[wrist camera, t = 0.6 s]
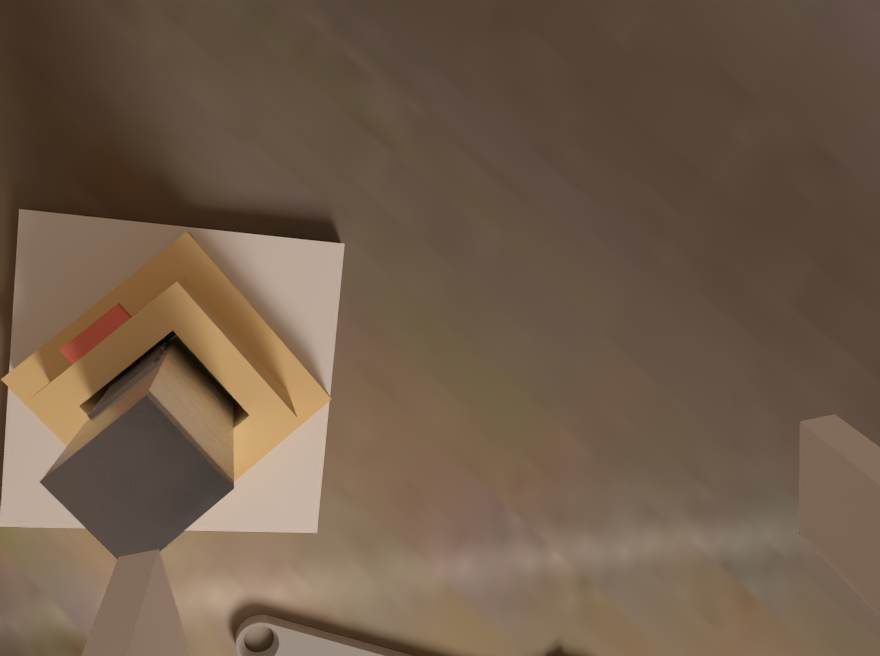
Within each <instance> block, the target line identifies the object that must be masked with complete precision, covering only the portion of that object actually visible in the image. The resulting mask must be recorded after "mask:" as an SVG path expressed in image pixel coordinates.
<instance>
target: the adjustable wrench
mask: <svg viewBox="0 0 880 656" xmlns="http://www.w3.org/2000/svg"><path fill="white" fill-rule="evenodd" d="M256 626H266V627H269V628H270V629H271V630H272V632H273V635H274V640H273V643H272V645H271V647H270V648H269V649H267V650H265V651H262V652H253V651H250V650H249V649H247V647H246V646H245V643H244V637H245V634H246V632H247V631H248V630H249V629H251V628H253V627H256ZM235 647H236V653H237V655H238V656H413V655H409V654H406V653H402V652H398V651H395V650H391V649H387V648H384V647H380V646H377V645H373V644H369V643H366V642H362V641H359V640H355V639H351V638H348V637H344V636H340V635H337V634H333V633H330V632H326V631H322V630H319V629H315V628H312V627H308V626H304V625H301V624H297V623H293V622H290V621H286V620H283V619H279V618H275V617H272V616H268V615H260V614H259V615H255V616H251V617H249V618H248V619H246V620H245V621H244V622H243V623H241V624H240V626H239V628H238V630H237V632H236V638H235Z"/></svg>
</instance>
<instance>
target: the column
mask: <svg viewBox="0 0 880 656" xmlns="http://www.w3.org/2000/svg"><path fill="white" fill-rule="evenodd" d="M104 394H105V395H104V396H103V397H102V398H101V399H100V400H99V401H100V402H99V403H98V404H97V405H95V406H94V407H93V408H94V410H93V411H91V412H90V413H89V414H88V415H87V416H88V417H89V418H88V419H87V421H86V422H85V423H84V425H83V426H82V427H81V429H80V430H79V431H78V433H77V434H76V435H75V437H74V438H73V439H72V440H71V442H70V443H69V444H68V446H67V447H66V448H65V450H64V451H63V452H62V454H61V455H60V456H59V457H58V459H57V460H56V461H55V463H54V464H53V465H52V467H51V468H50V469H49V471H48V472H47V473H46V475H45V476H44V477H43V478H42V480H41V481H40V483H41V484H42V485H43V486H44V487H45V488H46V489H47V490H48V491H49V492H50V493H51V494H52V495H53V496H54V497H55V498H56V499H57V500H58V501H59V502H60V503H61V504H62V505H63V506H64V507H65V508H66V509H67V510H68V511H69V512H70V513H71V514H72V515H73V516H74V517H75V518H76V519H77V520H78V521H79V522H80V523H81V524H82V525H83V526H84V527H85V528H86V529H87V530H88V531H89V532H90V533H91V534H92V535H93V536H94V537H95V538H96V539H97V540H98V541H100V542H101V543H102V544H103V545H104V546H105V547H106V548H107V549H108V550H109V551H110V552H111V553H112V554H113V555H114V556H115V557H116V558H117V559H118V558H119V557H121V556H126V555H131V554H136V553H141V552H146V551H151V550H156V549H159V551H161V550H162V549H163V548H164V547H166V546H167V545H168V544H169V543H170V542H171V541H173V540H174V539H175V538H176V537H177V536H179V535H180V534H181V533H182V532H183V531H184V530H186V529H187V528H188V527H189V526H190V525H192V524H193V523H194V522H195V521H196V520H197V519H199V518H200V517H201V516H202V515H203V514H205V513H206V512H207V511H208V510H209V509H210V508H212V507H213V506H214V505H215V504H216V503H218V502H219V501H220V500H221V499H222V498H223V497H225V496H226V495H227V494H228V493H229V492H231V491H232V490H233V489H234V436H233V399H234V398H233V396H232V395H231V394H230V393H229V392H228V391H227V390H226V389H225V388H224V386H223V385H222V384H221V383H220V382H219V381H218V380H217V379H216V378H215V376H214V375H213V374H212V373H211V372H210V371H209V370H208V369H207V368H206V367H205V365H204V364H203V363H202V362H201V361H200V360H199V359H198V358H197V357H196V355H195V354H194V353H193V352H192V351H191V350H190V349H189V348H188V347H187V345H186V344H185V343H184V342H183V341H182V340H181V339H180V338H179V337H178V336H177V334H176V333H175V334H174V335H173V336H171V337H170V338H169V339H168V340H167V341H165V342H164V343H163V344H162V345H160V346H159V347H158V348H157V349H155V350H154V351H153V352H152V353H150V354H149V355H148V356H147V357H145V358H144V359H143V360H142V361H141V362H139V363H138V364H137V365H136V366H134V367H133V368H132V369H131V370H129V371H128V372H127V373H126V374H125V375H123V376H122V377H121V378H120V379H118V380H117V381H116V382H115V383H113V384H112V385H111V386H110V387H109V388H108V391H106V392H105V393H104Z"/></svg>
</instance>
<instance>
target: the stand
mask: <svg viewBox="0 0 880 656" xmlns="http://www.w3.org/2000/svg"><path fill="white" fill-rule="evenodd" d="M344 245H345V244H342V243H333V242H323V241H314V240H305V239H295V238H286V237H276V236H267V235H258V234H248V233H239V232H230V231H220V230H211V229H202V228H192V227H183V226H174V225H164V224H155V223H146V222H136V221H127V220H117V219H108V218H99V217H89V216H80V215H71V214H61V213H52V212H43V211H33V210H24V209H19V219H18V235H17V252H16V268H15V284H14V301H13V317H12V333H11V349H10V366H9V373H8V374H7V375H6V376H4V377H3V378H2V379H1V380H2V381H3V382H4V383H5V384H6V385H7V386H8V398H7V414H6V431H5V447H4V463H3V480H2V496H1V512H0V527H43V528H85V527H84V526H83V525H82V524H81V523H80V522H79V521H78V520H77V519H76V518H75V517H74V516H73V515H72V514H71V513H70V512H69V511H68V510H67V509H66V508H65V507H64V506H63V505H62V504H61V503H60V502H59V501H58V500H57V499H56V498H55V497H54V496H53V495H52V494H51V493H50V492H49V491H48V490H47V489H46V488H45V487H44V486H43V485H42V484H41V483H40V481H41V480H42V478H43V477H44V476H45V475H46V473H47V472H48V471H49V469H50V468H51V467H52V465H53V464H54V463H55V461H56V460H57V459H58V457H59V456H60V455H61V454H62V452H63V451H64V450H65V448H66V447H67V446H68V444H69V443H70V442H71V440H72V439H73V438H74V437H75V435H76V434H77V433H78V431H79V430H80V429H81V427H82V426H83V425H84V423H85V422H86V421H87V419H88V418H89V417H88V416H87V415H88V414H89V413H90V412H91V411H93V410H94V408H93V407H94V406H95V405H97V404H98V403H99V402H100V401H99V400H100V399H101V398H102V397H103V396H104V395H105V394H104V393H105V392H106V391H108V388H109V387H110V386H111V385H112V384H113V383H115V382H116V381H117V380H118V379H120V378H121V377H122V376H123V375H125V374H126V373H127V372H128V371H129V370H131V369H132V368H133V367H134V366H136V365H137V364H138V363H139V362H141V361H142V360H143V359H144V358H145V357H147V356H148V355H149V354H150V353H152V352H153V351H154V350H155V349H157V348H158V347H159V346H160V345H162V344H163V343H164V342H165V341H167V340H168V339H169V338H170V337H171V336H173V335H174V334H175V333H176V334H177V336H178V337H179V338H180V339H181V340H182V341H183V342H184V343H185V344H186V345H187V347H188V348H189V349H190V350H191V351H192V352H193V353H194V354H195V355H196V357H197V358H198V359H199V360H200V361H201V362H202V363H203V364H204V365H205V367H206V368H207V369H208V370H209V371H210V372H211V373H212V374H213V375H214V376H215V378H216V379H217V380H218V381H219V382H220V383H221V384H222V385H223V386H224V388H225V389H226V390H227V391H228V392H229V393H230V394H231V395H232V396H233V398H234V399H233V436H234V489H233V490H232V491H231V492H229V493H228V494H227V495H226V496H225V497H223V498H222V499H221V500H220V501H219V502H218V503H216V504H215V505H214V506H213V507H212V508H210V509H209V510H208V511H207V512H206V513H205V514H203V515H202V516H201V517H200V518H199V519H197V520H196V521H195V522H194V523H193V524H192V525H190V526H189V527H188V528H187V529H186V530H194V531H245V532H295V533H317V526H318V515H319V505H320V494H321V484H322V474H323V463H324V453H325V442H326V432H327V422H328V411H329V401H330V400H331V397H330V390H331V380H332V369H333V359H334V349H335V338H336V328H337V317H338V307H339V297H340V286H341V276H342V265H343V255H344Z"/></svg>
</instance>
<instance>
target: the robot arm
mask: <svg viewBox="0 0 880 656" xmlns="http://www.w3.org/2000/svg"><path fill="white" fill-rule="evenodd" d="M799 535H800V536H801V537H802V538H803V539H804V540H805V541H806V542H807V543H808V544H809V545H810V546H811V547H812V548H813V549H814V550H815V551H816V552H817V553H818V554H819V555H820V556H821V557H822V558H823V560H824V561H825V562H826V563H827V564H828V565H829V566H830V567H831V568H832V569H833V570H834V571H835V572H836V573H837V574H838V575H839V576H840V577H841V578H842V579H843V580H844V581H845V582H846V583H847V584H848V585H849V586H850V587H851V588H852V590H853V591H854V592H855V593H856V594H857V595H858V596H859V597H860V598H861V599H862V600H863V601H864V602H865V603H866V604H867V605H868V606H869V607H870V608H871V609H872V610H873V611H874V612H875V613H876V614H877V615H878V616H879V617H880V447H879V446H877V445H876V444H874V443H873V442H872V441H870V440H869V439H868V438H866V437H865V436H864V435H862V434H861V433H859V432H858V431H857V430H855V429H854V428H853V427H851V426H850V425H849V424H847V423H846V422H844V421H843V420H842V419H840V418H839V417H838V416H836V415H835V414H834V415H829V416H824V417H819V418H814V419H809V420H804V421H800V458H799ZM82 656H191V652H190V649H189V646H188V643H187V639H186V636H185V633H184V630H183V626H182V623H181V620H180V617H179V613H178V610H177V607H176V604H175V600H174V597H173V594H172V590H171V587H170V584H169V581H168V577H167V574H166V571H165V568H164V564H163V561H162V558H161V555H160V551H159V549H156V550H151V551H146V552H141V553H136V554H131V555H126V556H121V557H119V558H118V560H117V563H116V566H115V568H114V571H113V574H112V576H111V579H110V582H109V584H108V587H107V590H106V592H105V595H104V598H103V600H102V603H101V606H100V608H99V611H98V614H97V616H96V619H95V622H94V624H93V627H92V630H91V632H90V635H89V638H88V640H87V643H86V646H85V648H84V651H83V654H82Z"/></svg>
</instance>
